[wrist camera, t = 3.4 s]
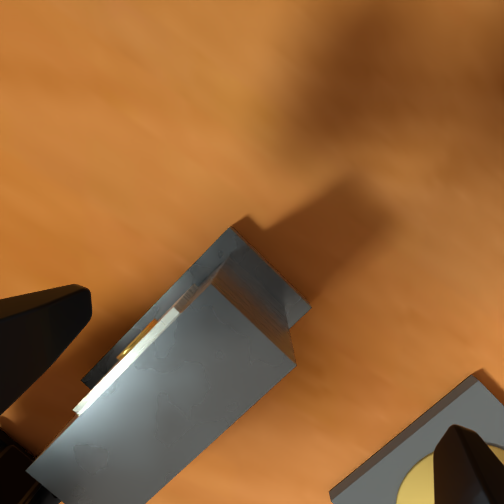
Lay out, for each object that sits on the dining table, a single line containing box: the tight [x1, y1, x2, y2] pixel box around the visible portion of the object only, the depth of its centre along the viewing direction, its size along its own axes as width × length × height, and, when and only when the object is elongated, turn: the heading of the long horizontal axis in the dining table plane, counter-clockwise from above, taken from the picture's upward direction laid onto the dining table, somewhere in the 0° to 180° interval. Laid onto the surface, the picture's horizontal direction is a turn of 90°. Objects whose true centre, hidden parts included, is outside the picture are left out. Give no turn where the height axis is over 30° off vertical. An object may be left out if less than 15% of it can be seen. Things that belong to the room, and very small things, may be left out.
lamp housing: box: [26, 226, 312, 504], centre depth 15 cm, size 12×6×7 cm, turn 136°
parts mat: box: [329, 375, 504, 504], centre depth 19 cm, size 11×11×1 cm
